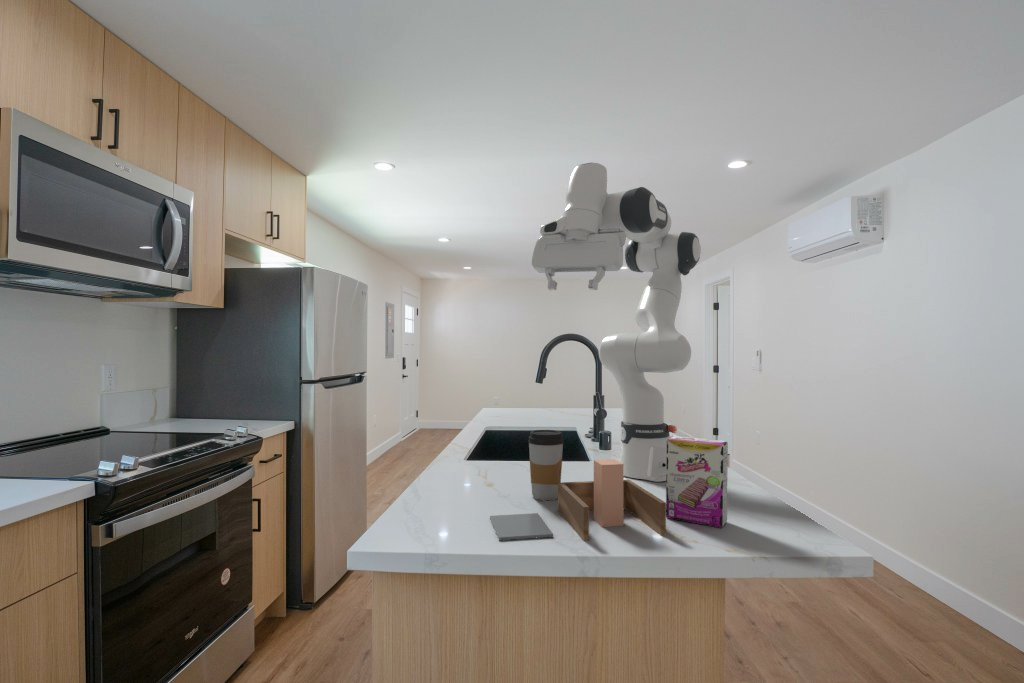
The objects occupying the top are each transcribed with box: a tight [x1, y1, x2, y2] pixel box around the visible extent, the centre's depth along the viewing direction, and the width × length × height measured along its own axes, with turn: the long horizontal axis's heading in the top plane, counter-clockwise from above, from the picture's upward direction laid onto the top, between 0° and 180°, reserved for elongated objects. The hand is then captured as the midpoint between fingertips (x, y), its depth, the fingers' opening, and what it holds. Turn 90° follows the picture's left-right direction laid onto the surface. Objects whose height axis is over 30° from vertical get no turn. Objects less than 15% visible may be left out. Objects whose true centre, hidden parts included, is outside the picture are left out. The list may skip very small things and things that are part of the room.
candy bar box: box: [665, 435, 729, 529], centre depth 104 cm, size 11×5×16 cm, turn 58°
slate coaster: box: [489, 512, 554, 541], centre depth 100 cm, size 10×12×1 cm
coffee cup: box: [528, 429, 564, 501], centre depth 120 cm, size 8×8×15 cm
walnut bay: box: [557, 479, 667, 541], centre depth 103 cm, size 16×17×6 cm
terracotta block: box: [593, 458, 624, 528], centre depth 103 cm, size 4×4×12 cm
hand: (571, 289), depth 111 cm, fingers open, 8 cm apart
